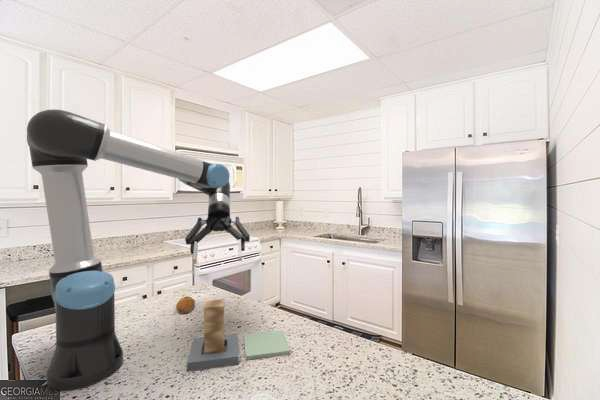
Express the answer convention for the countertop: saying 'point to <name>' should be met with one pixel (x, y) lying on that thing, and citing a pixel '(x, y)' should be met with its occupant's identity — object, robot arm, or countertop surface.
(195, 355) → the pocket frame
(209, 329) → the oak peg
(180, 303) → the pastry
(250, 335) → the rubber pad
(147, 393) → the countertop surface
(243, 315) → the countertop surface
